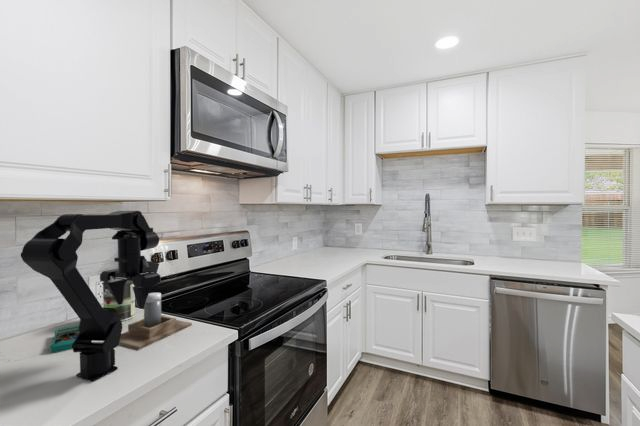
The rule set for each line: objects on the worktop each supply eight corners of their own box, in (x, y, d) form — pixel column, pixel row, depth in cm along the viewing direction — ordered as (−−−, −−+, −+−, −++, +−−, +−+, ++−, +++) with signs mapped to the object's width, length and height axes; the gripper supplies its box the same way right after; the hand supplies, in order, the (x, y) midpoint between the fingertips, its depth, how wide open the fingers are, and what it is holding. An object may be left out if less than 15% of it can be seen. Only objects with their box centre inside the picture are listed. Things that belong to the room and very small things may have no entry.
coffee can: (119, 323, 112) (118, 285, 111) (96, 321, 114) (95, 283, 114) (142, 314, 122) (141, 278, 121) (120, 312, 124) (119, 277, 124)
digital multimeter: (50, 355, 90) (49, 345, 90) (55, 337, 102) (55, 328, 101) (82, 348, 94) (81, 338, 94) (83, 332, 106) (83, 323, 106)
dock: (139, 349, 92) (139, 336, 92) (108, 341, 97) (108, 329, 97) (191, 325, 110) (191, 314, 110) (163, 319, 116) (163, 309, 116)
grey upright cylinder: (157, 333, 101) (157, 296, 101) (141, 333, 101) (141, 296, 101) (163, 327, 106) (163, 292, 106) (148, 327, 106) (148, 292, 106)
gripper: (175, 251, 95) (176, 301, 95) (133, 248, 102) (134, 295, 103) (141, 257, 84) (143, 313, 85) (98, 253, 92) (99, 305, 92)
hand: (130, 306), depth 91 cm, fingers open, 9 cm apart
